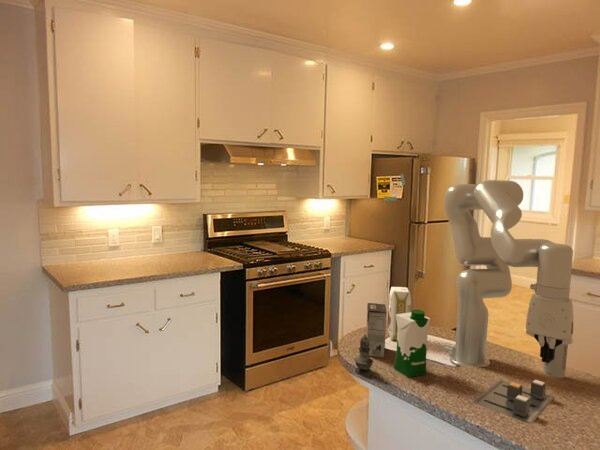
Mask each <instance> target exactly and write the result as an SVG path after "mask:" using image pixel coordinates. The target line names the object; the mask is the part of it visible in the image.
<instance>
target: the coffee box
mask: <svg viewBox="0 0 600 450" xmlns="http://www.w3.org/2000/svg"><path fill="white" fill-rule="evenodd" d="M366 308H367V311H366V331H365V332H366V333H365V335H366V337H367V338H369V348H370V350H369V357H379V358H384V357H385V350H386V349H385V347H386V331H387V330H386V329H387V307H386V304H385V303H383V304H382V303H376V302H375V303H374V302H373V303H372V302H367V307H366Z"/></svg>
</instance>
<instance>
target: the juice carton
mask: <svg viewBox="0 0 600 450" xmlns="http://www.w3.org/2000/svg"><path fill="white" fill-rule="evenodd" d="M388 295H389V297H388V314H387V315H388V317H387V318H388V319H387V330H388V335H389V340H390V341H397V334H398V326H397V319H396V314H403V313H410V312H411V311H412V310H411V309H412V296H411V292H410V290H409V288H408V287H405V286H404V287H403V286H391V288H390V291H389V294H388Z"/></svg>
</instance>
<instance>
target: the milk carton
mask: <svg viewBox="0 0 600 450" xmlns="http://www.w3.org/2000/svg"><path fill="white" fill-rule="evenodd" d="M425 314H426V312H425V311H424V310H420V309H413V310H410V313H403V314H396V319H397V326H398V334H397V340H396V355H395V362H394V370H395V371H397V372H399V373H401V374H402V375H404V376H406V377H407V378H412V377H413V378H414V377H418V376H421V375H427V347H428V346H427V345H428V335H429V334H428V331H429V327H430V324H431V320H432V319H431V318H430V317H428V316H425Z"/></svg>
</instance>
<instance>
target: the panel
mask: <svg viewBox="0 0 600 450" xmlns="http://www.w3.org/2000/svg"><path fill="white" fill-rule="evenodd" d="M510 383H511V381H510V382H509V381H506V380H504V379H499V380H498V381H496V382H494V383H493V384H492V385H491V386H490V387H488V388H487V389H485V391H484V392H482V393H481V394H480V395H478V396H476V397H475V398H474V399H473V400H472V401H471V403H472V404H476V405H478V406H480V407H484V408H486V409H488V410H490V411H491V410H492V411H493V412H494V411H495V412H497V413H500V414H502V415H505V416H507V417H510V418H512V419H516V420H518V421H521V422H523V423H526V424H528V425H532V424H533V423H534V422H535V420H537V419H538V417H539V416H540V415H541V414H542V413H543V412H544V411H545V409H547V407H548V406H549V405H550V404H551V403H552V402H553V401H554V400H555V398H556V397H555V396H552V395H550V394H547V393H546V395H545V396H544V397H543V399H542V400H541V399H538V398H535V397H532V396H530V392H531V388H528V387H525V386H523V387H522V396H523V397H526V398H529V399H530V407H529V410H530V412H529V413H528V414H527V415H526V416H525V417H523V416H521V415H518V414H515V413H512V412H513V408H514V401H512V400H509V399H506V396H507V388H508V385H509V384H510Z"/></svg>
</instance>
